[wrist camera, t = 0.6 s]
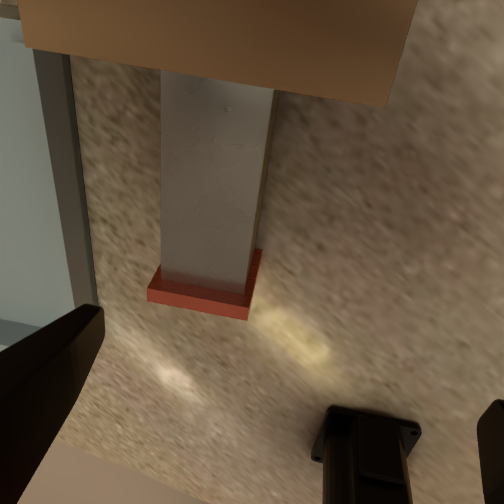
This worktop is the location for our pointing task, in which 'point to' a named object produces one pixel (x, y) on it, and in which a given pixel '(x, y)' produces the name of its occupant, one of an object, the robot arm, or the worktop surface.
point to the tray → (39, 189)
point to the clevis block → (237, 40)
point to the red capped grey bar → (211, 192)
